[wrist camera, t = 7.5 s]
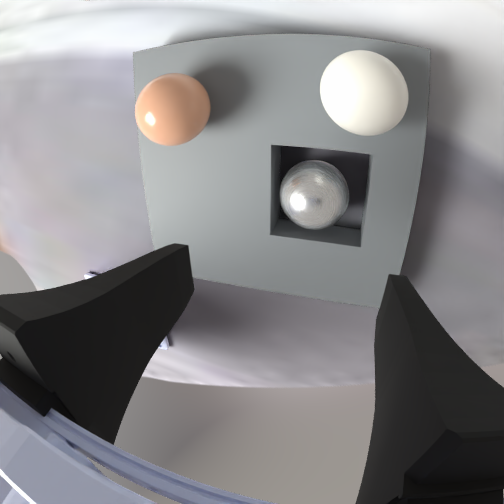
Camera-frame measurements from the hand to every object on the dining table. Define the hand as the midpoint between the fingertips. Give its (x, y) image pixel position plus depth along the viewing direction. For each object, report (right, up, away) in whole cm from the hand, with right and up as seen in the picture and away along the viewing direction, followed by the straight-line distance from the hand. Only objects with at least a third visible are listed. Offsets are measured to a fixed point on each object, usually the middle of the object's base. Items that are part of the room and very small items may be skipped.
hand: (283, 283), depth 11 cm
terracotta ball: (-5, +9, +4) cm, 11 cm away
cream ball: (+4, +8, +1) cm, 9 cm away
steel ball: (+2, +4, +7) cm, 8 cm away
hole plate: (0, +7, +8) cm, 11 cm away
